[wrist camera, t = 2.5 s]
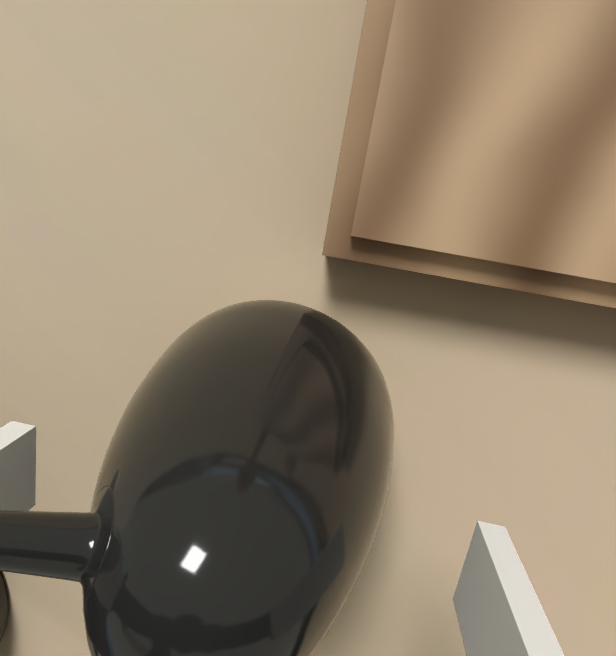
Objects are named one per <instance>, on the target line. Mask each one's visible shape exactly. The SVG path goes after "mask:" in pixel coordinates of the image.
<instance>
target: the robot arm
mask: <svg viewBox="0 0 616 656" xmlns="http://www.w3.org/2000/svg"><path fill="white" fill-rule="evenodd" d="M35 476H36V426H33V425H28V424H24V423H19V422H14V421H11V422H9V423H8V424H6V425H4V426H3V427H1V428H0V510H10V511H29V510H30V509H31V508H32V507H33V506H34V505H35ZM453 601H454V606H455V610H456V614H457V618H458V622H459V626H460V630H461V635H462V639H463V643H464V647H465V651H466V655H467V656H564V654H563V652H562V649H561V647H560V645H559V643H558V641H557V639H556V636H555V634H554V632H553V630H552V628H551V626H550V623H549V621H548V619H547V617H546V615H545V613H544V610H543V608H542V606H541V604H540V602H539V599H538V597H537V595H536V593H535V591H534V589H533V586H532V584H531V582H530V580H529V578H528V576H527V573H526V571H525V569H524V567H523V565H522V563H521V560H520V558H519V556H518V554H517V552H516V550H515V547H514V545H513V543H512V541H511V539H510V536H509V534H508V532H507V530H506V528H505V527H504V526H499V525H494V524H490V523H485V522H480V521H477V524H476V527H475V531H474V534H473V537H472V540H471V543H470V546H469V549H468V553H467V556H466V559H465V562H464V565H463V568H462V572H461V575H460V578H459V581H458V584H457V587H456V590H455V594H454V597H453ZM7 611H8V606H7V596H6V591H5V586H4V583H3V579H2V577H1V574H0V640H1V638H2V636H3V633H4V630H5V626H6V622H7Z"/></svg>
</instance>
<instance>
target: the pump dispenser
mask: <svg viewBox="0 0 616 656" xmlns="http://www.w3.org/2000/svg"><path fill="white" fill-rule="evenodd" d="M393 439H394V424H393V413H392V406H391V400H390V396H389V392H388V388H387V385H386V382H385V379H384V377H383V374H382V372H381V370H380V368H379V366H378V364H377V363H376V361H375V359H374V358H373V356H372V355H371V353H370V352H369V351H368V349H367V348H366V347H365V346H364V344H363V343H362V342H361V341H360V340H359V339H358V338H357V337H356V336H355V335H354V334H353V333H352V332H351V331H350V330H348V329H347V328H346V327H345V326H343V325H342V324H340V323H339V322H337V321H336V320H334V319H333V318H331V317H329V316H327V315H325V314H323V313H321V312H319V311H317V310H315V309H312V308H309V307H306V306H303V305H300V304H296V303H291V302H285V301H275V300H257V301H248V302H243V303H238V304H234V305H231V306H228V307H225V308H222V309H220V310H217V311H215V312H213V313H211V314H209V315H208V316H206V317H204V318H202V319H201V320H199V321H198V322H196V323H195V324H194V325H192V326H191V327H190V328H188V329H187V330H186V331H185V332H184V333H182V334H181V335H180V336H179V337H178V338H177V339H176V340H175V341H174V342H173V343H172V344H171V345H170V346H169V347H168V349H167V350H166V351H165V352H164V353H163V354H162V356H161V357H160V358H159V359H158V361H157V362H156V363H155V365H154V366H153V367H152V369H151V370H150V371H149V373H148V374H147V375H146V377H145V378H144V380H143V381H142V383H141V384H140V386H139V387H138V389H137V390H136V392H135V394H134V395H133V397H132V399H131V400H130V402H129V404H128V406H127V408H126V409H125V411H124V413H123V415H122V417H121V419H120V421H119V424H118V426H117V428H116V430H115V432H114V435H113V437H112V440H111V442H110V445H109V447H108V450H107V452H106V455H105V458H104V461H103V464H102V467H101V470H100V473H99V477H98V480H97V484H96V488H95V491H94V496H93V500H92V506H91V512H89V513H79V512H43V511H10V510H0V571H6V572H13V573H20V574H27V575H35V576H42V577H49V578H56V579H63V580H70V581H75V582H80V583H81V585H82V594H83V616H84V624H85V631H86V637H87V642H88V647H89V650H90V653H91V656H311V654H312V653H313V652H314V650H315V649H316V648H317V646H318V645H319V643H320V642H321V641H322V639H323V638H324V636H325V635H326V633H327V632H328V630H329V629H330V627H331V625H332V624H333V622H334V620H335V619H336V617H337V615H338V614H339V612H340V610H341V609H342V607H343V605H344V603H345V601H346V600H347V598H348V596H349V594H350V592H351V590H352V588H353V586H354V584H355V582H356V580H357V578H358V576H359V574H360V572H361V570H362V568H363V565H364V563H365V561H366V559H367V556H368V554H369V551H370V549H371V546H372V544H373V541H374V539H375V536H376V533H377V530H378V527H379V524H380V520H381V517H382V513H383V509H384V506H385V501H386V497H387V492H388V486H389V480H390V473H391V465H392V454H393Z"/></svg>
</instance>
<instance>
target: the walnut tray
mask: <svg viewBox="0 0 616 656" xmlns="http://www.w3.org/2000/svg"><path fill="white" fill-rule="evenodd" d="M322 255H325V256H330V257H336V258H341V259H347V260H352V261H358V262H363V263H369V264H374V265H380V266H385V267H391V268H396V269H402V270H407V271H413V272H418V273H424V274H430V275H435V276H441V277H446V278H452V279H457V280H463V281H468V282H474V283H479V284H485V285H490V286H496V287H501V288H507V289H512V290H518V291H523V292H529V293H534V294H540V295H545V296H551V297H556V298H562V299H567V300H573V301H579V302H584V303H590V304H595V305H601V306H606V307H612V308H616V0H367V5H366V10H365V16H364V22H363V27H362V33H361V39H360V44H359V50H358V56H357V61H356V67H355V72H354V78H353V84H352V89H351V95H350V101H349V106H348V112H347V118H346V123H345V129H344V135H343V140H342V146H341V152H340V157H339V163H338V169H337V174H336V180H335V186H334V191H333V197H332V202H331V208H330V214H329V219H328V225H327V231H326V236H325V242H324V248H323V253H322Z"/></svg>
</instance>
